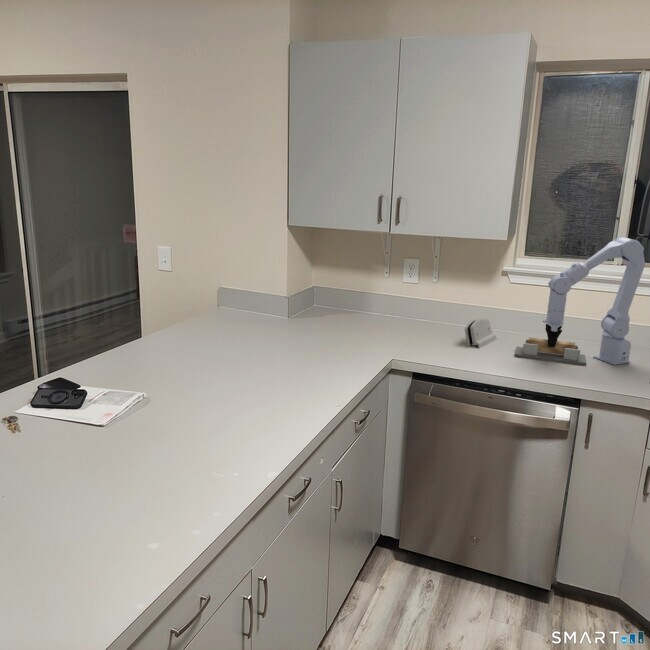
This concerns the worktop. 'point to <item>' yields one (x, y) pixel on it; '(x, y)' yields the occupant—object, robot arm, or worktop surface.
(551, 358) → the bracket board
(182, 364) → the worktop surface
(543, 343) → the rail
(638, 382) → the worktop surface
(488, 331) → the grey stand
